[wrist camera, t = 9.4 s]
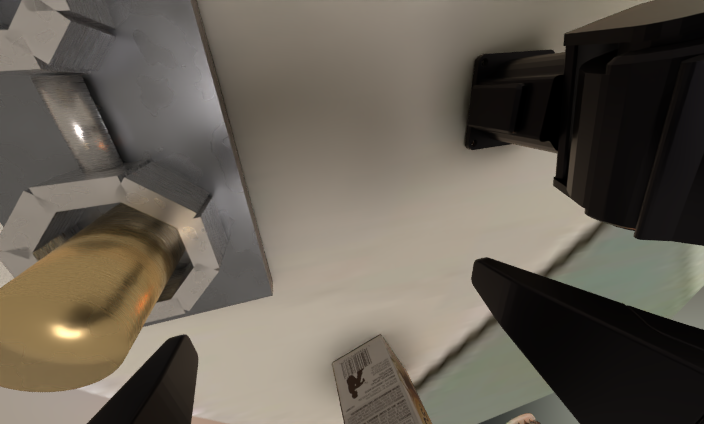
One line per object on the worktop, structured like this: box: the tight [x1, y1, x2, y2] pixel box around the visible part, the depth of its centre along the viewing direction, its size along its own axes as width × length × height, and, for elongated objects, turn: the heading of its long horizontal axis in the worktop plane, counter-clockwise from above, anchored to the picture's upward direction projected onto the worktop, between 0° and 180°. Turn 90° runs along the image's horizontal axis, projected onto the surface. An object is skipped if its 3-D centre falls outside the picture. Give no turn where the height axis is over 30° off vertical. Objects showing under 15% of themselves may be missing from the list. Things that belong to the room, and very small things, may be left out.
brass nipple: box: [0, 203, 186, 392], centre depth 12 cm, size 4×4×8 cm
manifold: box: [0, 0, 273, 327], centre depth 13 cm, size 12×24×4 cm, turn 4°
